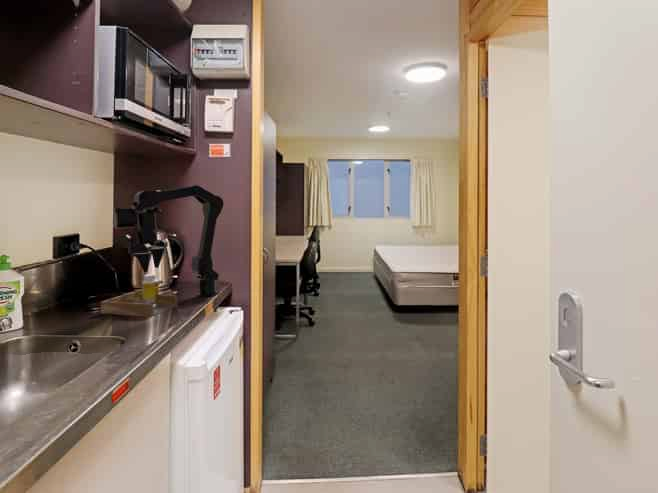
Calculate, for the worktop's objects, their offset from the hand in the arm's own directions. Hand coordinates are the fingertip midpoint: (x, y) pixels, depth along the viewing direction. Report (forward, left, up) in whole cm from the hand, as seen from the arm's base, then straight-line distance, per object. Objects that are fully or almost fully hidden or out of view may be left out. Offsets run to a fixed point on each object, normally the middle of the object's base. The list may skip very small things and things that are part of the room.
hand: (151, 270), depth 137 cm
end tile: (+7, +6, -13) cm, 16 cm away
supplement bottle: (-3, -4, -13) cm, 14 cm away
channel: (+3, 0, -13) cm, 13 cm away
